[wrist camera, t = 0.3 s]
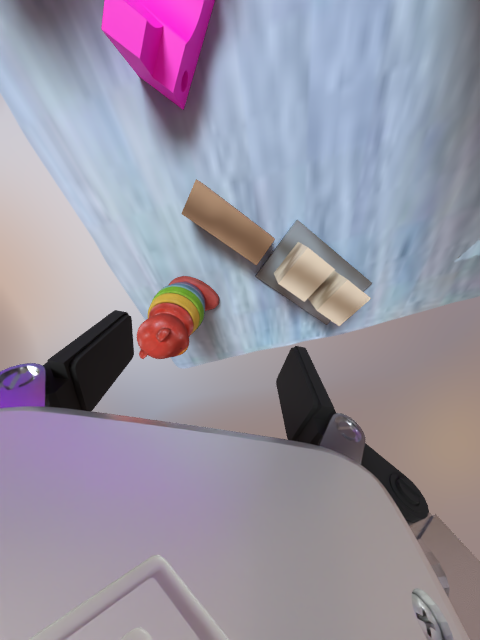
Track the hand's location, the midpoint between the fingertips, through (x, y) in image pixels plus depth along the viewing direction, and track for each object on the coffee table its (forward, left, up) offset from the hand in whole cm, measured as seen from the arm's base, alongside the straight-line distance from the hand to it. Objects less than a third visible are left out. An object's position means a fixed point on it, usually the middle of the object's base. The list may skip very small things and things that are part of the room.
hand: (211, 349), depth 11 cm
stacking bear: (+13, -3, -29) cm, 32 cm away
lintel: (-4, -3, -29) cm, 29 cm away
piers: (-5, +16, -28) cm, 33 cm away
